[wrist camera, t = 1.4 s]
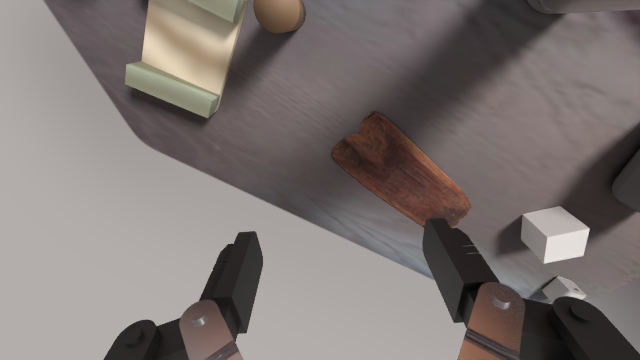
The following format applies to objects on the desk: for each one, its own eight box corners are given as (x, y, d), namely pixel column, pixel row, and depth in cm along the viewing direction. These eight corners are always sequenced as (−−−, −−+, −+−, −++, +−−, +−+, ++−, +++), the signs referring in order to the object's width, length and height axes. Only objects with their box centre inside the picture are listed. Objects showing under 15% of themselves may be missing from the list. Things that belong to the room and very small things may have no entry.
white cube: (555, 231, 49) (583, 255, 44) (520, 238, 50) (543, 263, 45) (559, 205, 46) (590, 228, 41) (522, 213, 47) (547, 237, 42)
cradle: (159, -45, 29) (137, -54, 26) (247, 1, 32) (238, -2, 28) (143, 78, 36) (124, 84, 32) (217, 109, 38) (207, 118, 34)
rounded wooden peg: (281, -12, 31) (261, -30, 21) (310, 4, 32) (305, -6, 21) (271, 21, 33) (247, 20, 22) (298, 36, 33) (288, 41, 23)
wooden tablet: (484, 210, 45) (438, 248, 48) (476, 203, 47) (432, 240, 50) (376, 106, 37) (328, 159, 40) (372, 103, 39) (326, 154, 42)
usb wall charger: (571, 280, 55) (587, 297, 52) (546, 300, 59) (560, 317, 55) (555, 275, 55) (571, 292, 51) (531, 296, 58) (545, 313, 55)
